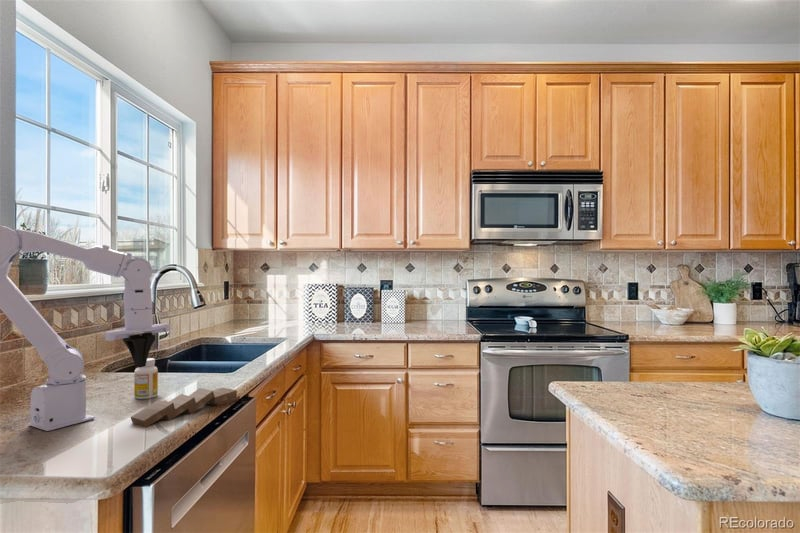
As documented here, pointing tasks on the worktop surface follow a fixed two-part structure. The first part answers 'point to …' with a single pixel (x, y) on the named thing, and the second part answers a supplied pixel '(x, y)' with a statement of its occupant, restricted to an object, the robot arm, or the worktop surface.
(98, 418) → the worktop surface
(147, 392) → the supplement bottle
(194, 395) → the domino
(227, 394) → the domino
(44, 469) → the worktop surface
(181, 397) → the domino
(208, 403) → the domino
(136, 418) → the domino
